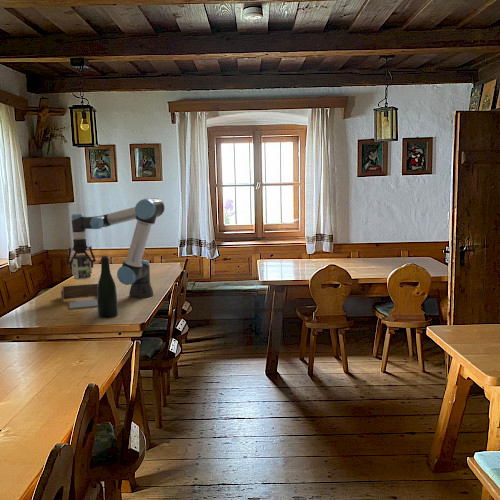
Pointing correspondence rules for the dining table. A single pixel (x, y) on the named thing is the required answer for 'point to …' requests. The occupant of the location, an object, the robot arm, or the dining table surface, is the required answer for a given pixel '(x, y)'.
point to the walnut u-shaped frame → (78, 290)
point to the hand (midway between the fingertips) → (82, 273)
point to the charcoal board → (83, 304)
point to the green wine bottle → (106, 292)
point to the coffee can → (81, 267)
